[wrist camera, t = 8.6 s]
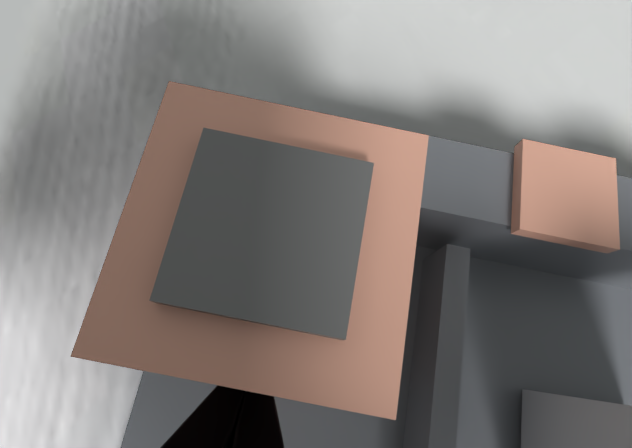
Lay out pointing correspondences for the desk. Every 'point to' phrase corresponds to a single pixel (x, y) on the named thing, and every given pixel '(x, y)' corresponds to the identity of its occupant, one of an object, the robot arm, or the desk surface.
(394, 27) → the desk surface
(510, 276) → the block sorting stand
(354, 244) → the peach tall block
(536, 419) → the grey block
